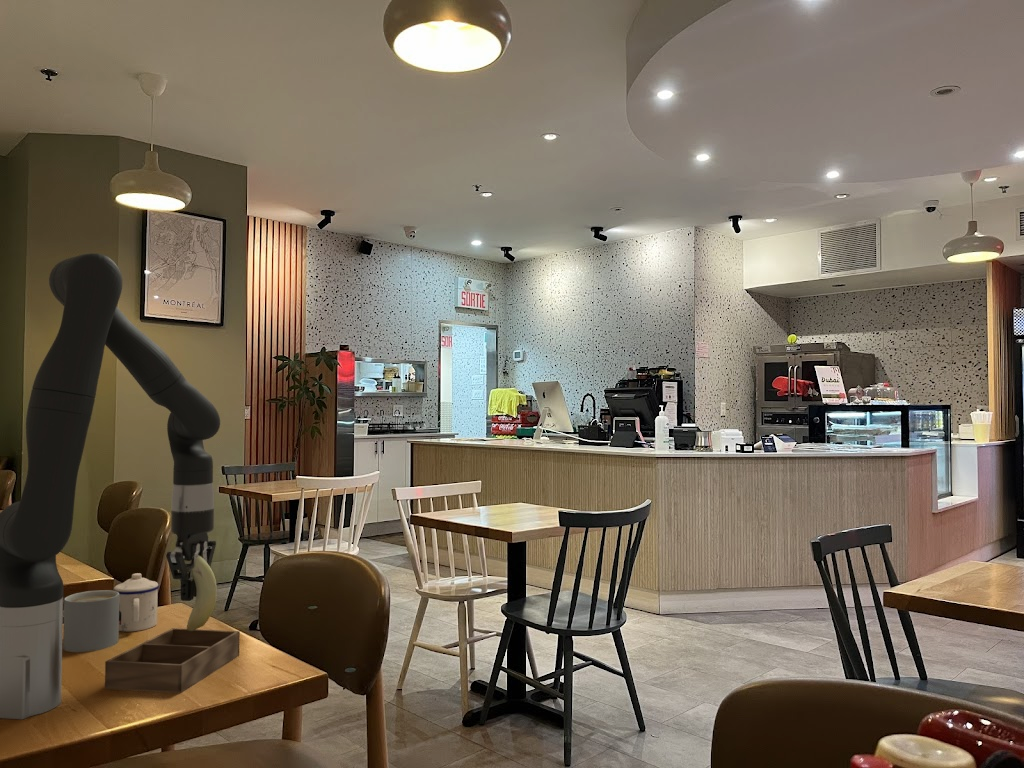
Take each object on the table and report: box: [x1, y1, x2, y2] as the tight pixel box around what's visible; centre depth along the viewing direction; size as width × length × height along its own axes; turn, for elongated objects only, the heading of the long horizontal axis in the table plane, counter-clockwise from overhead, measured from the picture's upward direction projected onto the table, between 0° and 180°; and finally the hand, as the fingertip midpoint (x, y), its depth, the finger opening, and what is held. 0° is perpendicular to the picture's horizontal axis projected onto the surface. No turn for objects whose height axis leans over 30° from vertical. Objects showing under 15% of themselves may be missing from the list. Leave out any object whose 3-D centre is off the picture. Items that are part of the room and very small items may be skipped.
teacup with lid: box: [112, 572, 160, 633], centre depth 167 cm, size 12×9×12 cm
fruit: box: [166, 555, 218, 631], centre depth 144 cm, size 7×15×3 cm
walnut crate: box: [104, 628, 241, 694], centre depth 139 cm, size 20×14×5 cm
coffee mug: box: [62, 589, 120, 653], centre depth 157 cm, size 13×10×10 cm
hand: (191, 597), depth 144 cm, fingers closed on fruit, 2 cm apart
